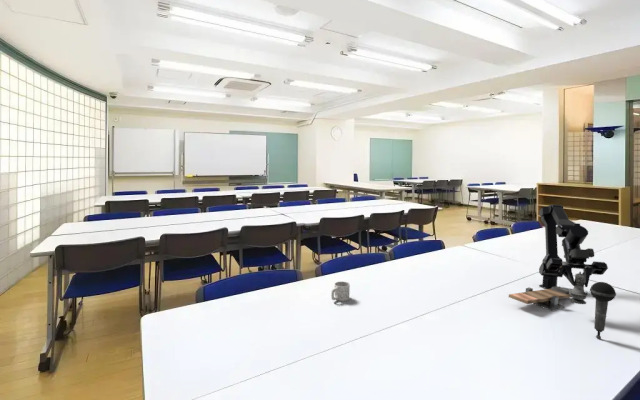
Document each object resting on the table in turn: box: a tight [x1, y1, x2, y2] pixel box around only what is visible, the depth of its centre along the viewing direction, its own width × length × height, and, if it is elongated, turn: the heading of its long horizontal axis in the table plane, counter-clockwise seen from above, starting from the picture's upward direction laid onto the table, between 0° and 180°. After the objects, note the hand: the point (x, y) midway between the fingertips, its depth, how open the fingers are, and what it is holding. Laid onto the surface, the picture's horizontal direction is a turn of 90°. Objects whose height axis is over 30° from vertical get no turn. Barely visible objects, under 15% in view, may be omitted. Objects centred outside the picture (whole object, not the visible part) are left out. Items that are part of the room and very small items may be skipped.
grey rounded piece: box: [568, 271, 589, 305], centre depth 130 cm, size 6×6×12 cm
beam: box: [508, 286, 572, 305], centre depth 145 cm, size 32×8×2 cm, turn 117°
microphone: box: [589, 281, 617, 340], centre depth 115 cm, size 7×7×20 cm
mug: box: [330, 280, 351, 302], centre depth 150 cm, size 10×7×7 cm, turn 134°
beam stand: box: [525, 286, 565, 312], centre depth 146 cm, size 8×14×5 cm, turn 26°
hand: (580, 286), depth 129 cm, fingers closed on grey rounded piece, 4 cm apart
